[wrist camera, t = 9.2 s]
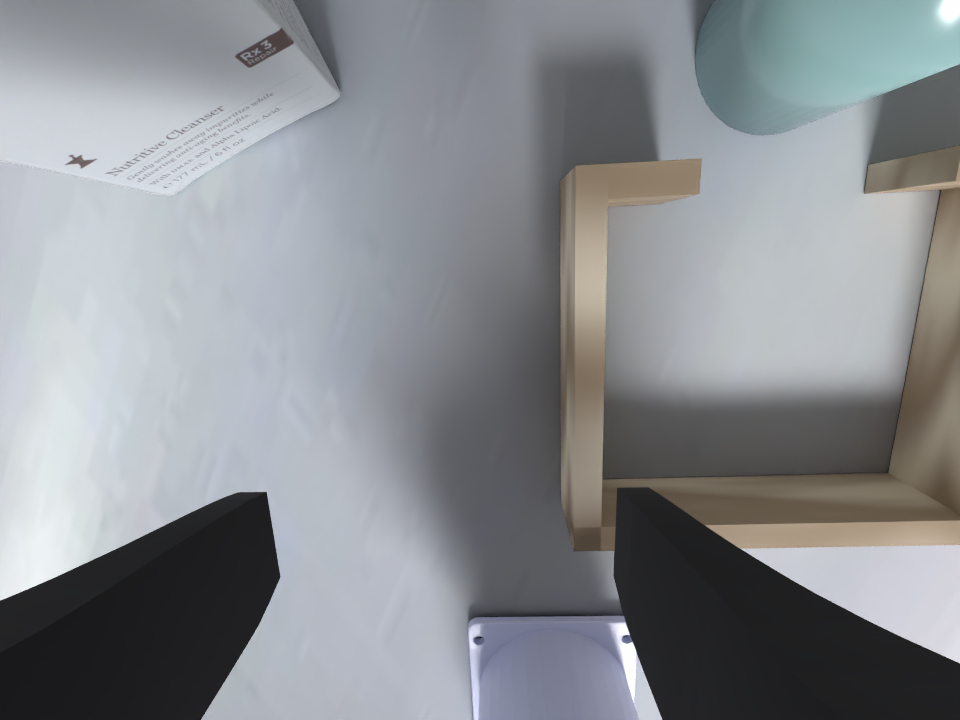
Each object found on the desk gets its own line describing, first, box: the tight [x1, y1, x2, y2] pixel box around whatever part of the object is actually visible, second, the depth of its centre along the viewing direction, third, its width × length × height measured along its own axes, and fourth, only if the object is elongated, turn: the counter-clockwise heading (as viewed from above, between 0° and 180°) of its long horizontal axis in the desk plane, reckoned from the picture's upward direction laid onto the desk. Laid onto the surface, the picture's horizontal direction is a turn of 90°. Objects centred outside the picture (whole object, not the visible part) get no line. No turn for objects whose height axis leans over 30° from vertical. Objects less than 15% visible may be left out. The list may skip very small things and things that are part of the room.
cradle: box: [560, 145, 960, 551], centre depth 17 cm, size 14×15×4 cm
